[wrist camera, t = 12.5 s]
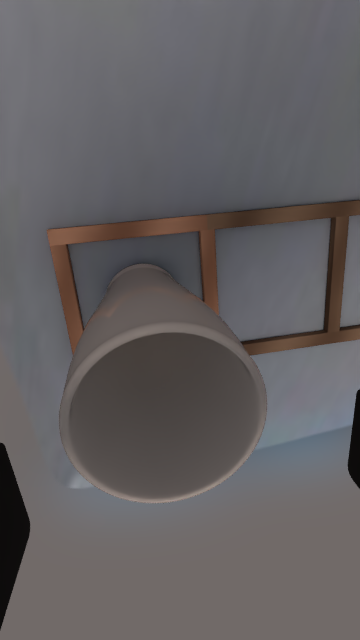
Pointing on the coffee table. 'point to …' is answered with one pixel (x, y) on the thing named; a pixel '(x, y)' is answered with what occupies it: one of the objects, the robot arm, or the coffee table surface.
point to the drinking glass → (159, 393)
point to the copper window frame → (206, 229)
